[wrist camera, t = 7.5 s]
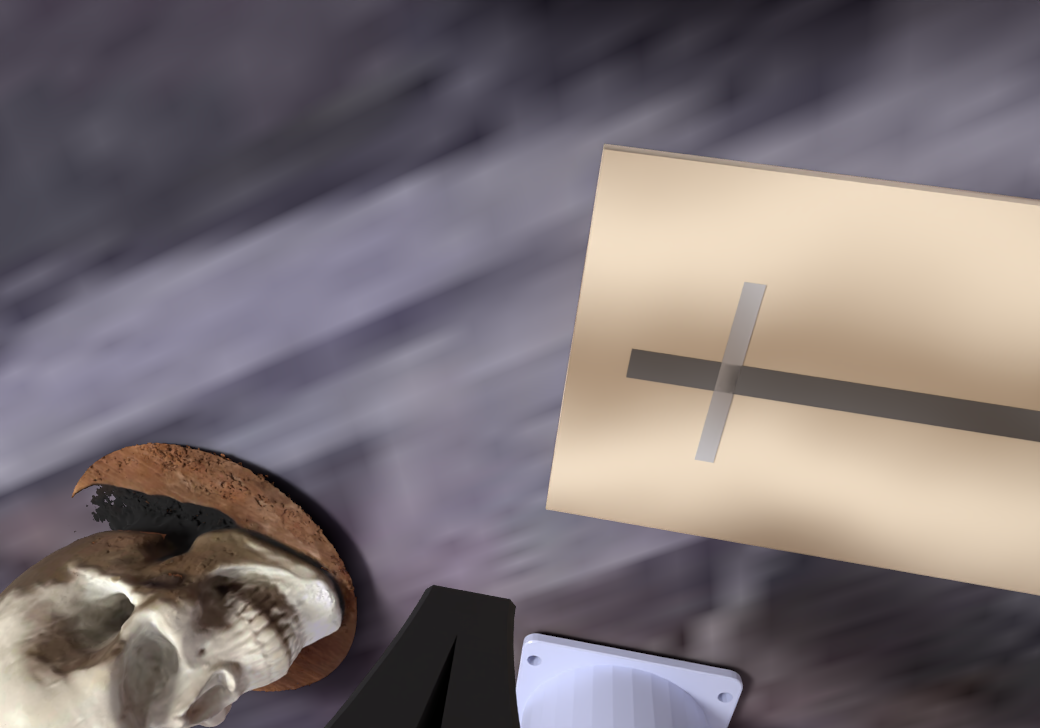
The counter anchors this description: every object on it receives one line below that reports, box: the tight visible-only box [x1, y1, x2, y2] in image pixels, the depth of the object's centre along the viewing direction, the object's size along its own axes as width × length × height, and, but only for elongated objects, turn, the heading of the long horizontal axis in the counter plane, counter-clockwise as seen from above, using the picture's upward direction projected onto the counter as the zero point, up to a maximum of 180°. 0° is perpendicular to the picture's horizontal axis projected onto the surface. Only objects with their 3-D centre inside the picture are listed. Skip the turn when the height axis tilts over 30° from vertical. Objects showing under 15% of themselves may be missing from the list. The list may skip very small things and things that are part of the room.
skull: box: [0, 443, 357, 728], centre depth 22 cm, size 12×10×10 cm
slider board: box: [546, 144, 1040, 595], centre depth 15 cm, size 10×20×2 cm, turn 84°
